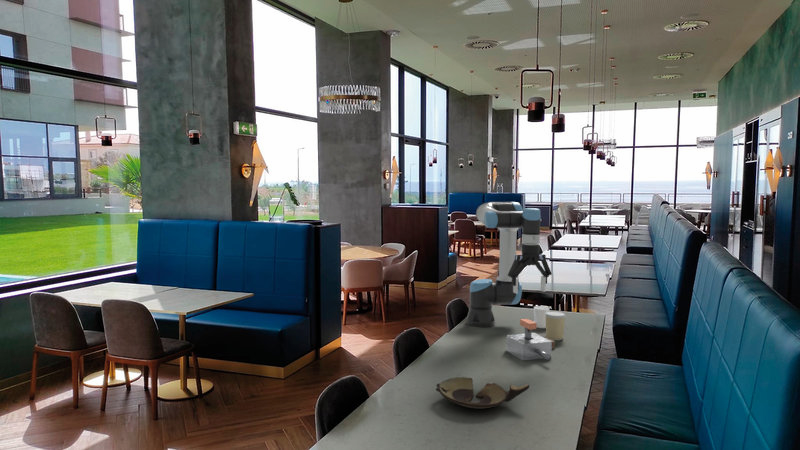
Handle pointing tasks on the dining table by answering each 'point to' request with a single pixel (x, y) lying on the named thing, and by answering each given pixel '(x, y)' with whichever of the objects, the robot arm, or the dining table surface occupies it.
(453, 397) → the brown curved dish
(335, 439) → the dining table surface
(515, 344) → the block
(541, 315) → the white cup
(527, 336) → the block
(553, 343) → the wooden square frame
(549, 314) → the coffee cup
